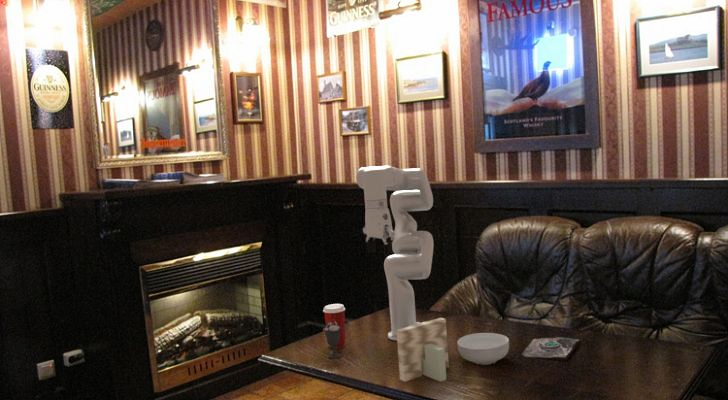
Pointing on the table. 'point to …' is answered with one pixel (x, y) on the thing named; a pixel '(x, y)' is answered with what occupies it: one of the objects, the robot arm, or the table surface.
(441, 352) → the sage board
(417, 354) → the maple plate
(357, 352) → the table surface
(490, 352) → the cereal bowl
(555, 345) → the terrain model
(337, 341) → the sundae
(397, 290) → the robot arm
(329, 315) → the coffee cup
